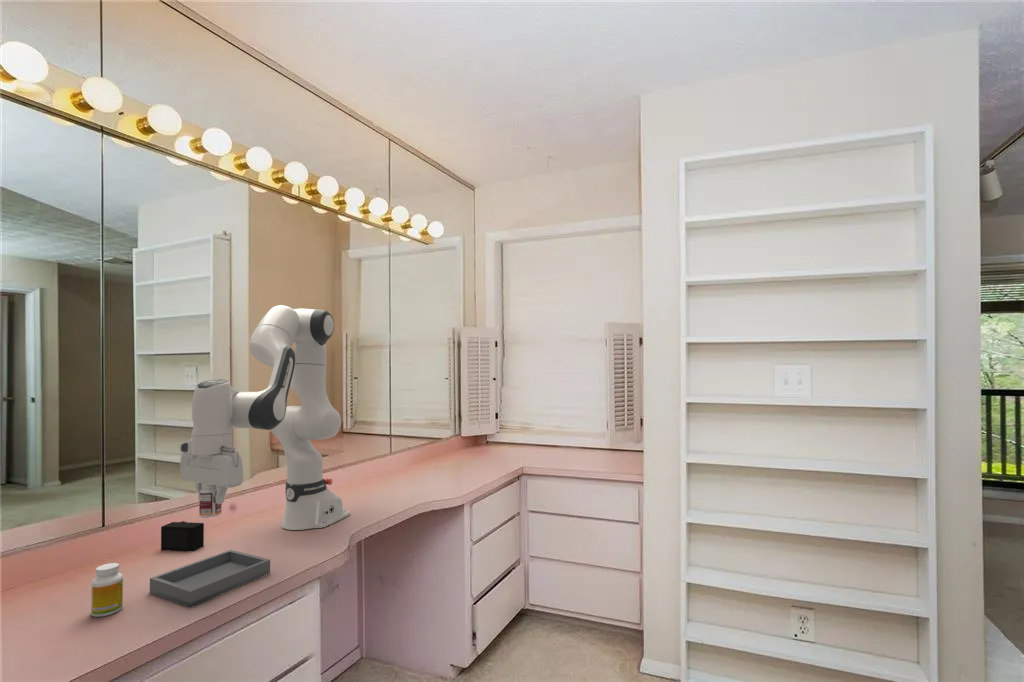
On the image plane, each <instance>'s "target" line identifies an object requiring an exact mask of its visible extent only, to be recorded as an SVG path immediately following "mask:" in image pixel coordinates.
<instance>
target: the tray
mask: <svg viewBox="0 0 1024 682" xmlns="http://www.w3.org/2000/svg"><path fill="white" fill-rule="evenodd" d="M268 573H270V574H271V559H270V558H269V559H268V558H265V557H260V556H258V555H254V554H249V553H246V552H241V551H237V550H233V549H229V550H226V551H223V552H221V553H217V554H214V555H212V556H208V557H206V558H204V559H201V560H197V561H195V562H191V563H189V564H187V565H184V566H180V567H177V568H175V569H172V570H169V571H166V572H164V573H162V574H159V575H158V574H157V575H154V576H152V577H150V578H149V594H150V593H151V594H150V595H153V596H156V597H159V598H161V599H165V600H167V601H169V602H173V603H175V604H178V605H181V606H184V607H186V606H187V608H189V607H191V608H193V607H196V606H198V605H200V604H202V603H204V602H207V601H210V600H212V599H214V598H217V597H219V596H221V595H223V594H222V593H224V594H226V593H228V592H230V590H231V591H233V590H235V589H238V588H240V587H242V586H244V585H243V584H245V585H247V584H249V583H251V582H250V581H252V582H254V581H256V580H259V579H261V578H263V577H265V576H264V575H266V574H268ZM268 575H269V574H268ZM262 576H263V577H262ZM266 576H267V575H266ZM260 577H261V578H260ZM258 578H259V579H258ZM255 579H256V580H255ZM253 580H254V581H253ZM248 582H249V583H248ZM246 583H247V584H246ZM241 585H242V586H241ZM239 586H240V587H239ZM237 587H238V588H237ZM234 588H235V589H234ZM232 589H233V590H232ZM225 592H226V593H225ZM220 594H221V595H220ZM218 595H219V596H218ZM216 596H217V597H216ZM213 597H214V598H213ZM197 604H198V605H197ZM195 605H196V606H195ZM192 606H193V607H192Z"/></svg>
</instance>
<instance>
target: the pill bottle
mask: <svg viewBox="0 0 1024 682" xmlns="http://www.w3.org/2000/svg"><path fill="white" fill-rule="evenodd" d="M201 488H203V489H201V490H200V500H199V508H198V509H199V510H198V511H199V517H200V518H202V519H203V518H204V519H205V518H206V519H208V518H213V517H214V518H215V517H217V516H220V515H221V514H222V506H223V505H222V504H223V503H221V504H215V503H214V502H213V501H214V496H216V493H217V490H216V486H215V485H209V484H207V483H205V482H201Z"/></svg>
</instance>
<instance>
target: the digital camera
mask: <svg viewBox="0 0 1024 682" xmlns="http://www.w3.org/2000/svg"><path fill="white" fill-rule="evenodd" d="M204 535H205V523H204V522H187V521H185V520H183V521H172V522H169V523H167V524H165V525H162V526H161V528H160V551H163V550H170V551H169V552H188V551H194V552H195V550H196V551H198V550H199V548H200V549H202V548H204V545H205V543H204V540H205V539H204V538H205V536H204ZM201 547H202V548H201ZM197 549H198V550H197Z"/></svg>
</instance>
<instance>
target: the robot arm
mask: <svg viewBox="0 0 1024 682" xmlns="http://www.w3.org/2000/svg"><path fill="white" fill-rule="evenodd" d="M334 330H335V322H334V318H333V316H332V315H331V313H330V312H329V311H328V310H325V309H321V308H317V309H314V308H313V309H312V308H304V307H303V308H292V307H290V306H287V305H284V304H279V305H275V306H273V307H271V308H270V309H269V310H268V311H267V313H266V314H264V315H263V317H262V318H261V319H260V321H259V323H258V324H257V326H256V327H255V329H254V331H253V332H252V334H251V336H250V339H249V343H248V347H249V349H250V353H251V354H252V356H253V357H254V358H255V359H256V360H257V361H259V363H261V364H263V365H265V366H268V367H270V368H272V372H271V374H270V375H271V376H270V379H269V382H268V386H267V387H266V388H265V389H263V390H260V391H240V390H238V389H235V388H234V387H233V386H232V384H231V382H230V381H229V380H228V379H223V378H222V379H221V378H219V379H210V380H204V381H201V382H199V383H197V384H196V386H195V387H194V390H193V391H194V392H193V395H192V396H193V397H192V402H191V419H192V422H193V423H192V424H193V426H192V431H191V437H190V438H189V439H188V440H186V441H184V442H181V443H180V444H179V452H180V453H181V455H180V461H179V462H180V463H179V464H180V465H179V466H180V470H179V471H180V476H181V479H182V480H183V481H185V482H186V481H187V482H191V483H195V484H194V485H195V488H196V491H197V494H198V501H200V490H201V489H203V488H201V482H205V483H207V484H209V485H215V486H216V490H217V493H216V496H214V501H213V502H214V503H215V504H221V503H222V504H223V503H224V502H225V495H226V494H227V491H228V489H229V488H235V487H238V486H241V485H242V484H243V482H244V469H243V467H244V466H243V460H242V457H241V455H240V453H239V452H238V450H237V449H236V447H233V429H234V428H235V429H236V428H237V429H256V430H267V431H270V432H271V433H272V435H274V436H275V437H276V438H277V440H278V441H279V442H280V444H281V446H282V449H283V452H284V454H285V461H286V475H287V476H286V482H285V487H284V489H285V490H284V491H285V499H286V501H285V508H284V515H283V519H282V522H281V528H282V529H285V530H288V531H289V530H290V531H300V530H302V531H303V530H309V529H322V528H323V527H324V528H326V526H327V527H328V525H329V526H330V525H332V524H335V523H337V522H338V521H340V520H342V519H344V518H346V517H348V516H351V513H350V511H349V510H347V509H345V508H344V507H343V506H344V505H343V501H342V498H341V497H340V496H338V495H337V494H336V493H334V492H333V491H331V490H330V489H328V487H327V485H329V486H331V485H332V484H333V481H334V480H333V479H332V478H324V477H323V476H324V475H323V471H324V470H323V465H324V464H323V461H324V460H323V456H322V454H321V453H320V451H318V450H317V449H316V448H315V447H314V445H313V444H312V440H314V441H315V440H316V441H318V440H319V441H320V440H327V439H330V438H334V437H335V436H336V435H337V434H338V433H339V431H340V430H341V425H342V418H341V415H340V413H339V412H338V410H336V409H335V408H334V406H333V405H332V404H331V401H330V399H329V396H328V394H327V387H326V385H327V382H326V380H327V379H326V378H327V364H328V363H327V362H328V361H327V360H328V359H327V355H328V354H327V341H328V340H330V338H331V337H332V335H333V333H334ZM294 343H295V344H294ZM292 345H294V348H292ZM290 389H291V390H292V391H293V392H294V393H295V394H296V395H297V396H298V397H299V400H300V405H288V406H287V402H288V401H287V400H288V395H289V391H290Z"/></svg>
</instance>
